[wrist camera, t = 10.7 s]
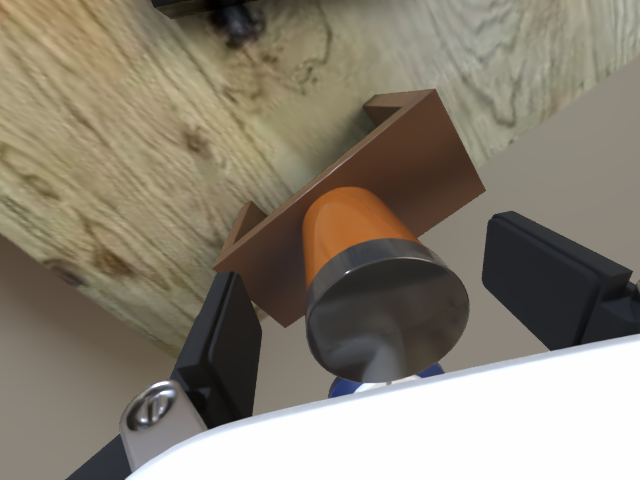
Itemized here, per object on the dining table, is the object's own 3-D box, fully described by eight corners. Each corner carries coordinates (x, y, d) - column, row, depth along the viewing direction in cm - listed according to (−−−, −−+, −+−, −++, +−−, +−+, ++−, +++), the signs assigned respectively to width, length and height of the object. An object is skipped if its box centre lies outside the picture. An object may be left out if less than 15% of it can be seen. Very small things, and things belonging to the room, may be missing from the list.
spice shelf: (413, 158, 23) (486, 190, 14) (287, 254, 26) (285, 328, 17) (375, 94, 21) (435, 88, 12) (241, 208, 24) (211, 268, 15)
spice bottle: (395, 259, 16) (465, 366, 9) (310, 277, 16) (323, 397, 9) (388, 174, 14) (476, 239, 7) (289, 196, 14) (287, 279, 7)
